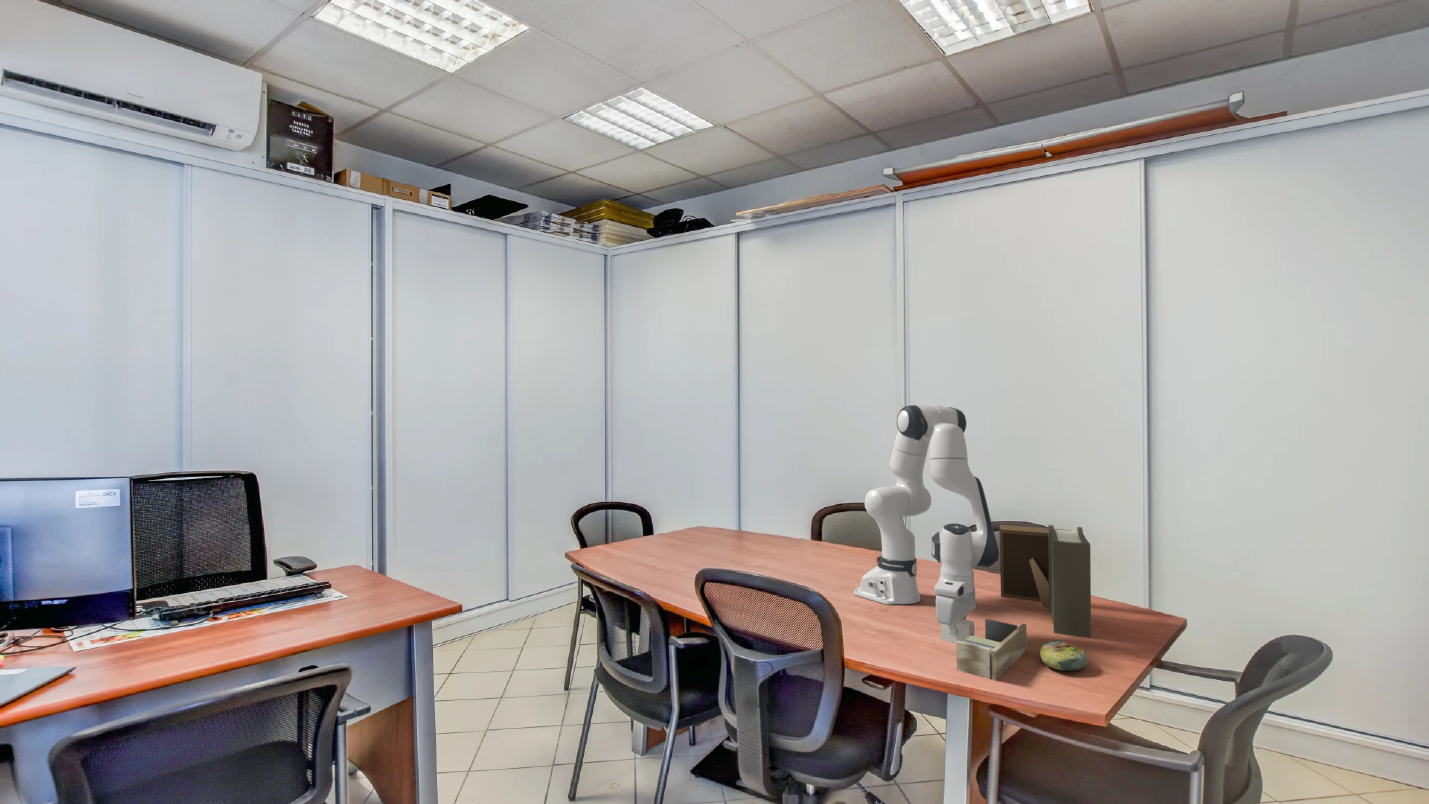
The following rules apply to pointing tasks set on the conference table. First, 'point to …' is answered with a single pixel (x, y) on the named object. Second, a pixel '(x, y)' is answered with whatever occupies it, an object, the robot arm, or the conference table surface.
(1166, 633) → the conference table surface
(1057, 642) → the cell model
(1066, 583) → the book
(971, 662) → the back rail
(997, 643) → the book olive
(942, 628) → the book ivory
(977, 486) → the robot arm
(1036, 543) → the photo frame
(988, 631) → the bookend
